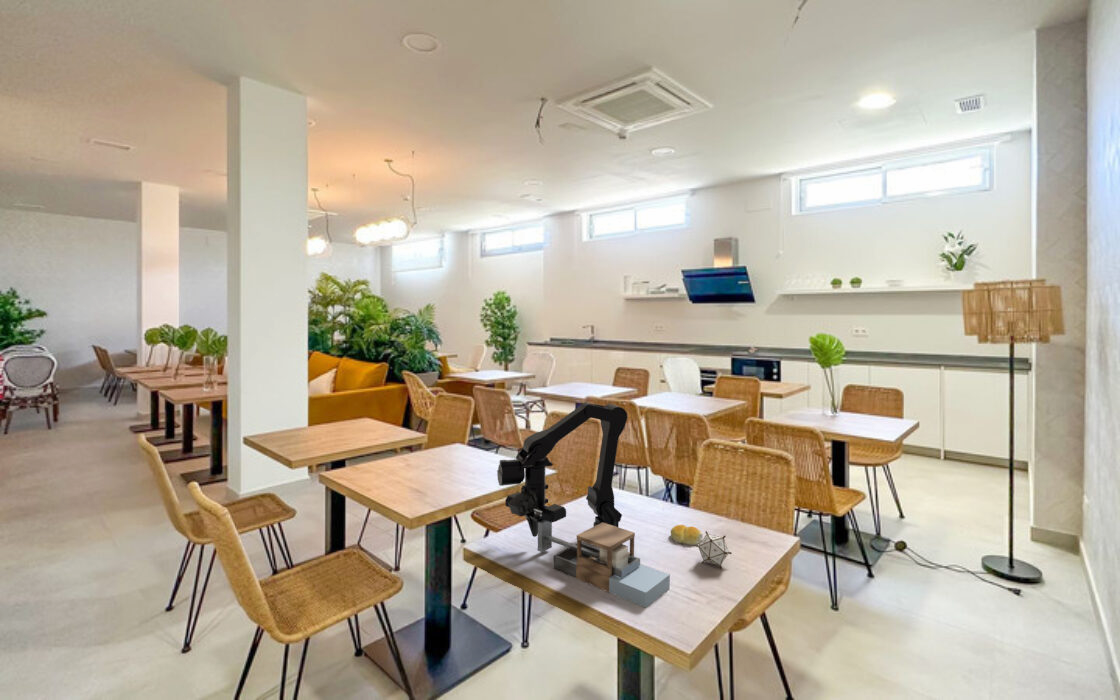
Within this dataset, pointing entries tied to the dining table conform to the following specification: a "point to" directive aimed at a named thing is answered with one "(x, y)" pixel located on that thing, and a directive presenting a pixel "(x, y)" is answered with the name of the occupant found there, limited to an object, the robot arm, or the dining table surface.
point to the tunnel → (585, 565)
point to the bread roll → (686, 535)
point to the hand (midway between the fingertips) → (534, 536)
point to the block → (616, 556)
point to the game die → (713, 549)
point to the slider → (547, 539)
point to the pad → (640, 585)
